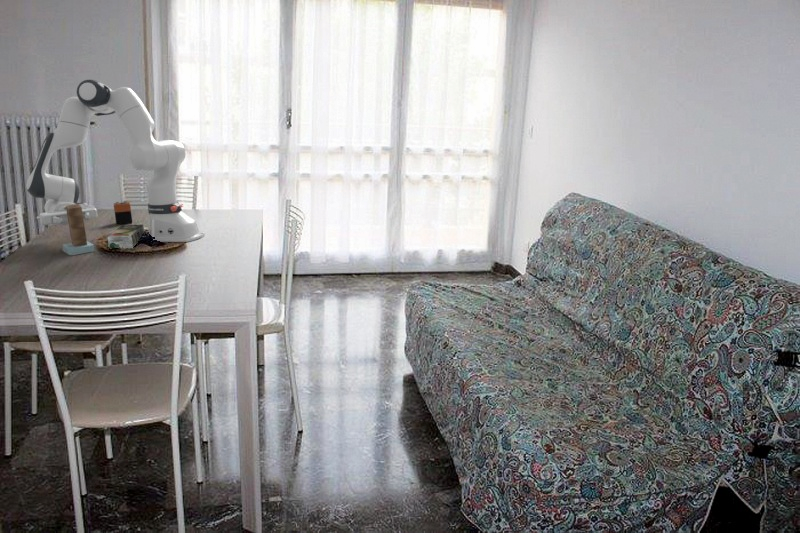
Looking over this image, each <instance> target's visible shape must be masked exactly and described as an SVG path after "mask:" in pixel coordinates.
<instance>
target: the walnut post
mask: <svg viewBox="0 0 800 533" xmlns="http://www.w3.org/2000/svg"><path fill="white" fill-rule="evenodd" d="M66 211H67V217H68V223H69V225H68V228H69V233H70V234H69V235H70V240H71V241H70V242H71V243H72V244H73V245H74V247H76V246H82V245H87V241H88V240H87V235H86V228H85V222H84V221H85V220H83V214H82V207H81V206H80V205H79V204H74V205H67V206H66Z"/></svg>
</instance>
